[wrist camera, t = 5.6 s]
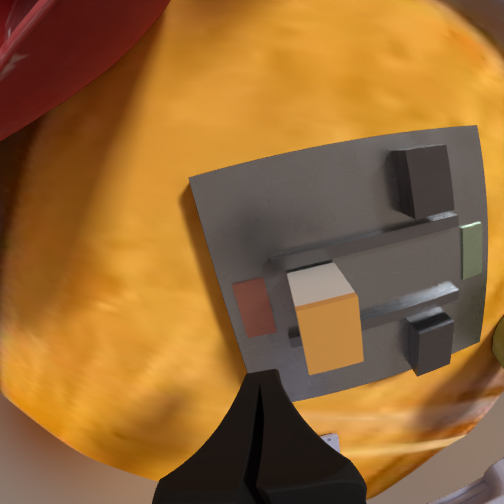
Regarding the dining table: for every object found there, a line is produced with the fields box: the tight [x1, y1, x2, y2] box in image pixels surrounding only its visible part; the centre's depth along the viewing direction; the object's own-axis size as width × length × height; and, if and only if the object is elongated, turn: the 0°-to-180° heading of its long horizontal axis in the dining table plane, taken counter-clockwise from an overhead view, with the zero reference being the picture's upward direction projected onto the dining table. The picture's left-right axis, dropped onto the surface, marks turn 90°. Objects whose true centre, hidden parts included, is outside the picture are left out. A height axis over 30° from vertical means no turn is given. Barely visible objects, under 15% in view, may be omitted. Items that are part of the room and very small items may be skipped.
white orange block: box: [287, 262, 364, 375], centre depth 17 cm, size 3×4×5 cm
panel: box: [189, 125, 488, 402], centre depth 19 cm, size 20×18×4 cm
